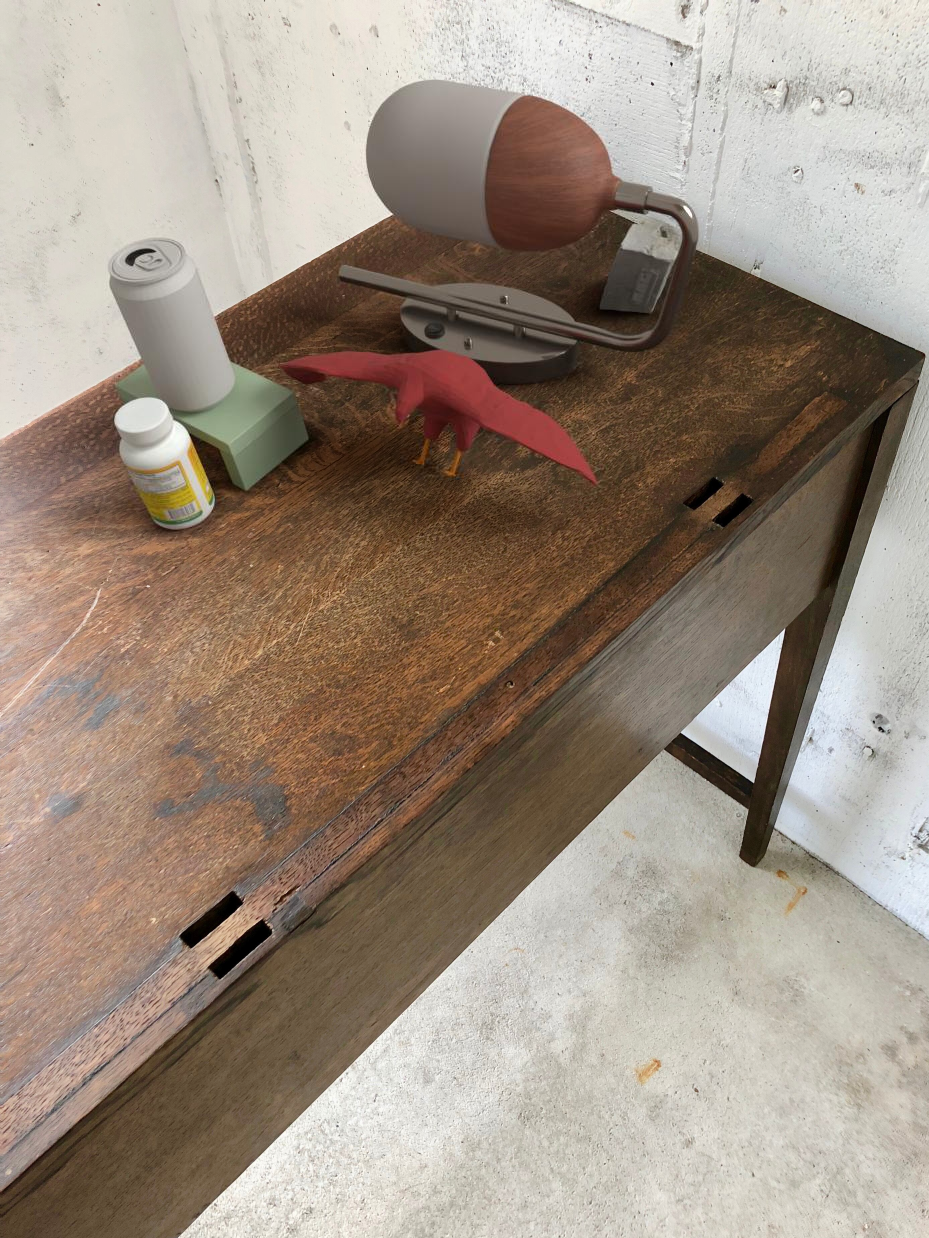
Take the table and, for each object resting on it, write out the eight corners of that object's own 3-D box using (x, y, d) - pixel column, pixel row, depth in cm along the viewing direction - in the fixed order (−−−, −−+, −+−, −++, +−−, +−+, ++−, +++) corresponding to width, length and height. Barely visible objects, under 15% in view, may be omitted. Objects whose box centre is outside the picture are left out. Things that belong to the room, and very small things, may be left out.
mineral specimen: (590, 325, 88) (592, 233, 82) (611, 291, 94) (614, 203, 88) (670, 332, 86) (677, 239, 81) (686, 296, 92) (694, 207, 87)
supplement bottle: (189, 539, 76) (144, 447, 68) (138, 520, 78) (88, 427, 70) (230, 495, 79) (191, 401, 71) (179, 477, 80) (136, 384, 73)
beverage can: (204, 359, 82) (152, 224, 72) (254, 386, 79) (207, 250, 69) (145, 399, 79) (83, 264, 69) (195, 428, 76) (137, 293, 66)
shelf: (136, 431, 84) (113, 384, 80) (199, 384, 88) (180, 337, 84) (246, 491, 79) (227, 444, 75) (309, 439, 82) (294, 391, 78)
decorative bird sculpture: (340, 434, 89) (235, 403, 75) (369, 335, 87) (267, 284, 73) (612, 534, 79) (550, 519, 65) (652, 426, 77) (597, 387, 64)
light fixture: (333, 35, 78) (735, 98, 68) (379, 276, 96) (704, 356, 85) (256, 93, 73) (679, 172, 62) (320, 337, 91) (658, 431, 80)
